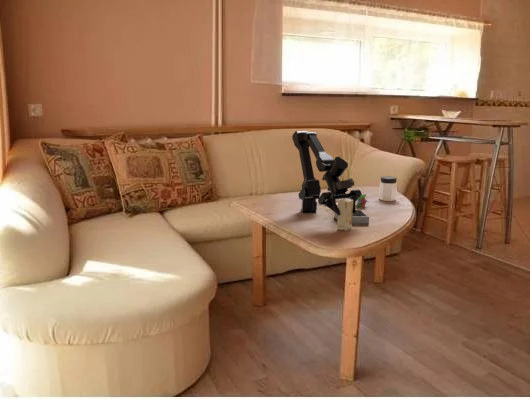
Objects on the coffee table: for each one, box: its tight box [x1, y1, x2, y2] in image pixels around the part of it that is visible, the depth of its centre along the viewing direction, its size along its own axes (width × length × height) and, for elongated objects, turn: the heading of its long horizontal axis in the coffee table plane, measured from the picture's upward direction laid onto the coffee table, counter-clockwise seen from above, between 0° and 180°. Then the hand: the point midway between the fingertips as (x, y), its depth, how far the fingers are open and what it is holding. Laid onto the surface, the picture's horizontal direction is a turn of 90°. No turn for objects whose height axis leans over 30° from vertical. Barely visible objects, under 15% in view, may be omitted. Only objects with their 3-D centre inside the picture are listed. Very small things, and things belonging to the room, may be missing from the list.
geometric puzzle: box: [355, 193, 369, 208], centre depth 228 cm, size 7×7×8 cm
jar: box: [378, 175, 398, 202], centre depth 243 cm, size 9×8×12 cm
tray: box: [334, 209, 370, 226], centre depth 202 cm, size 12×12×4 cm
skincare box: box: [336, 198, 353, 232], centre depth 190 cm, size 6×4×12 cm
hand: (347, 214), depth 188 cm, fingers closed on skincare box, 7 cm apart
